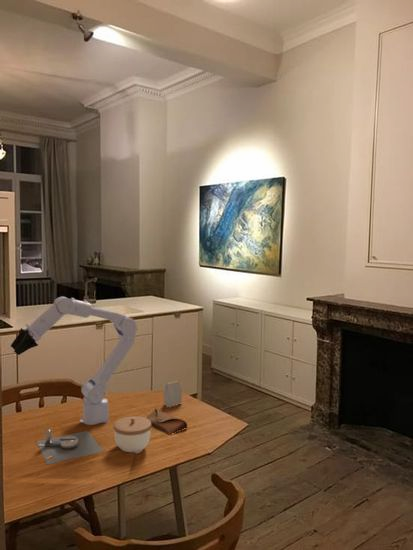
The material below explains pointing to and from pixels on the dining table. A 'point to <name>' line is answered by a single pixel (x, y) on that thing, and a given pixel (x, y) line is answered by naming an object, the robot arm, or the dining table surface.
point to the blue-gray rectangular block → (172, 394)
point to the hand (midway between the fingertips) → (14, 350)
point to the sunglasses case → (166, 422)
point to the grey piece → (62, 441)
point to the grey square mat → (57, 454)
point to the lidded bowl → (132, 433)
